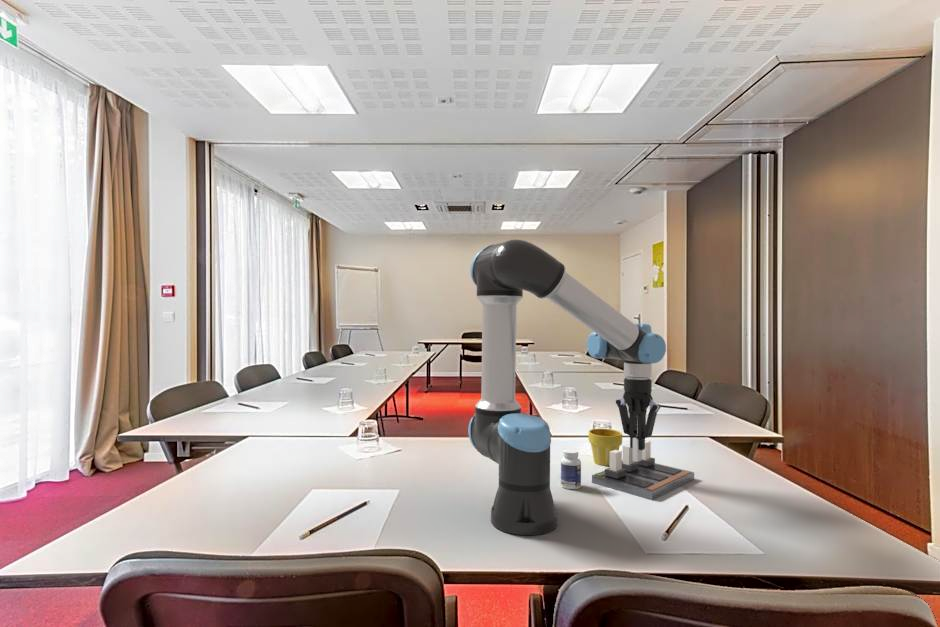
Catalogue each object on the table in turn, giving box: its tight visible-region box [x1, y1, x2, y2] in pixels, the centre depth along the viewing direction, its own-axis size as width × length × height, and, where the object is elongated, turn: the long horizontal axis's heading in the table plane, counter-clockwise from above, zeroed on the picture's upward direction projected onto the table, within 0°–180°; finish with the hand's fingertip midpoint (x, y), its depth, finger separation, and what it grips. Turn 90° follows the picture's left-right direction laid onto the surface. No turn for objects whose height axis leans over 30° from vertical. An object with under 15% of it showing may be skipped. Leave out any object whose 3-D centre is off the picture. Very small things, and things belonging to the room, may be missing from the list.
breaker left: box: [604, 449, 626, 479], centre depth 141 cm, size 4×4×7 cm
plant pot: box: [588, 427, 623, 467], centre depth 161 cm, size 10×10×10 cm
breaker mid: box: [622, 443, 639, 472], centre depth 147 cm, size 4×4×7 cm
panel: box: [591, 461, 695, 501], centre depth 144 cm, size 24×18×2 cm
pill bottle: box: [560, 448, 582, 490], centre depth 139 cm, size 5×5×10 cm
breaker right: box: [636, 439, 656, 467], centre depth 152 cm, size 4×4×7 cm
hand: (637, 460), depth 145 cm, fingers closed
